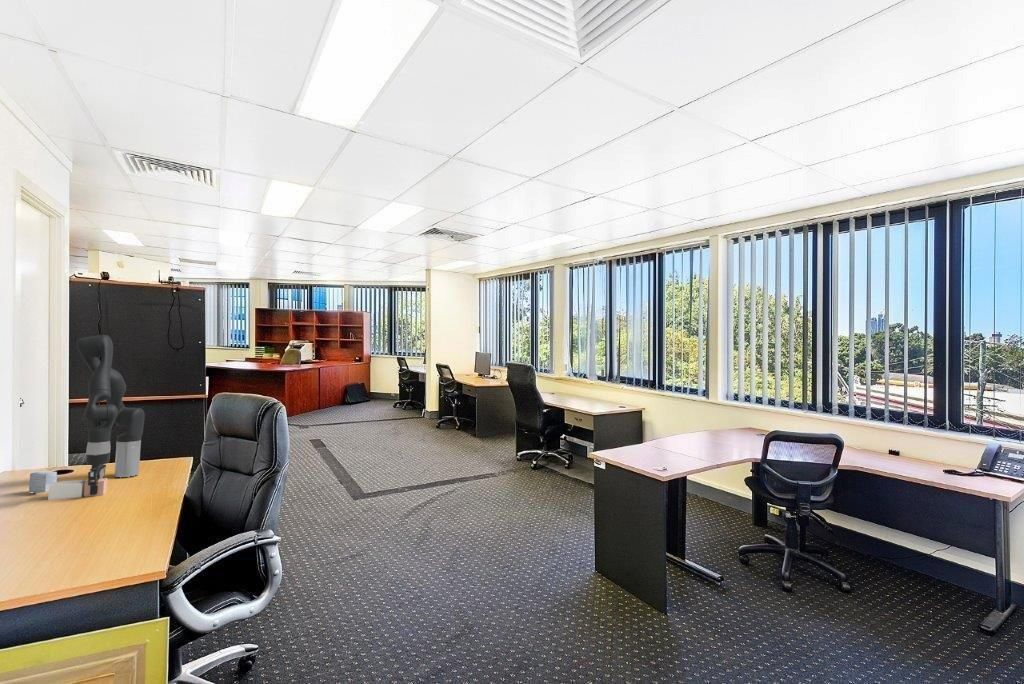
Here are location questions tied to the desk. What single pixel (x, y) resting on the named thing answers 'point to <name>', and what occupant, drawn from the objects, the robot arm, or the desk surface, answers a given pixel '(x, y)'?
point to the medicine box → (41, 481)
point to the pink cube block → (101, 488)
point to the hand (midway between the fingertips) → (95, 492)
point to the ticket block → (66, 489)
